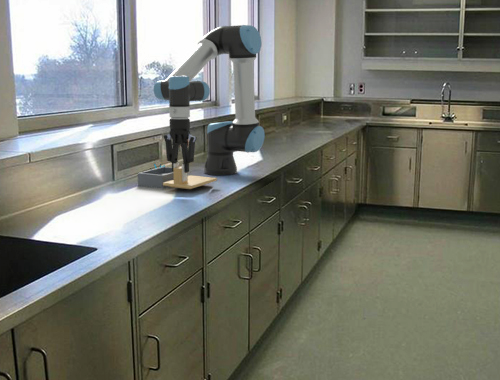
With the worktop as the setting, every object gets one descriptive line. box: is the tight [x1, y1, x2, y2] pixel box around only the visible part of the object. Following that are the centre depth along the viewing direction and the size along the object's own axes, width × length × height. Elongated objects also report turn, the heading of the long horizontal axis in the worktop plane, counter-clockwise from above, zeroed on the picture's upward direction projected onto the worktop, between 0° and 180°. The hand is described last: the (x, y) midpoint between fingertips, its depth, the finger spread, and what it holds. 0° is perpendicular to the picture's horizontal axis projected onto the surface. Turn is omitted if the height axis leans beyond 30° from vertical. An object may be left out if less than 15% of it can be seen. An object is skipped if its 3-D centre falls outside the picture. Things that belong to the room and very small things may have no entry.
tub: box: [137, 166, 174, 190], centre depth 237 cm, size 18×12×6 cm, turn 153°
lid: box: [163, 165, 218, 190], centre depth 227 cm, size 19×13×8 cm
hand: (180, 180), depth 221 cm, fingers closed on lid, 3 cm apart
